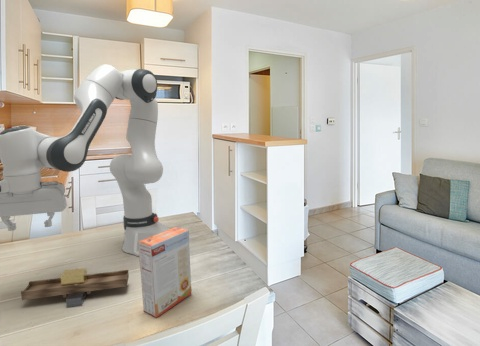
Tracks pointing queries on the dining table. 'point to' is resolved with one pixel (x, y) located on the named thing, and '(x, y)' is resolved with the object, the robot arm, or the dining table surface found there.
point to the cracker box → (165, 270)
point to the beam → (75, 285)
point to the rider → (74, 277)
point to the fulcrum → (75, 299)
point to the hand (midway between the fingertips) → (30, 228)
